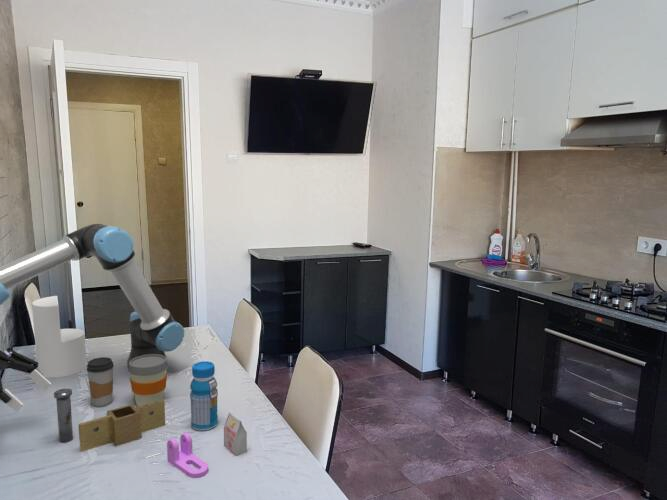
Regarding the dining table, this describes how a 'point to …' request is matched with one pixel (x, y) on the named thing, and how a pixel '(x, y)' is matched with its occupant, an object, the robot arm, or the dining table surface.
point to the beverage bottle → (203, 396)
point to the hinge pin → (64, 414)
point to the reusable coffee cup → (148, 378)
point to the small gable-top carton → (235, 435)
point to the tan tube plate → (121, 425)
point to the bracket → (185, 457)
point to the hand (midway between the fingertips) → (34, 397)
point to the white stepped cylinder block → (56, 341)
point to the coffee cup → (100, 381)
